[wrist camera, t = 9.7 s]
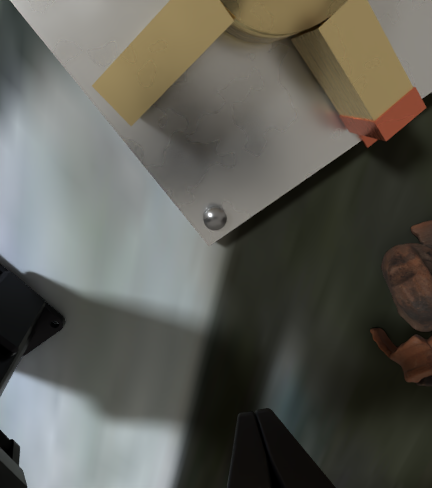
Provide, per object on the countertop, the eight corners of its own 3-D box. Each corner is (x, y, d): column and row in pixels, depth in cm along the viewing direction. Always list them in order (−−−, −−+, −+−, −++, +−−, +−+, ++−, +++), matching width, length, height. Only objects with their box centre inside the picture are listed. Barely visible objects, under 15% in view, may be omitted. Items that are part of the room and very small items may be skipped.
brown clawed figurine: (516, 235, 23) (604, 359, 18) (388, 291, 29) (430, 395, 24) (433, 162, 17) (536, 323, 12) (291, 254, 23) (323, 384, 18)
